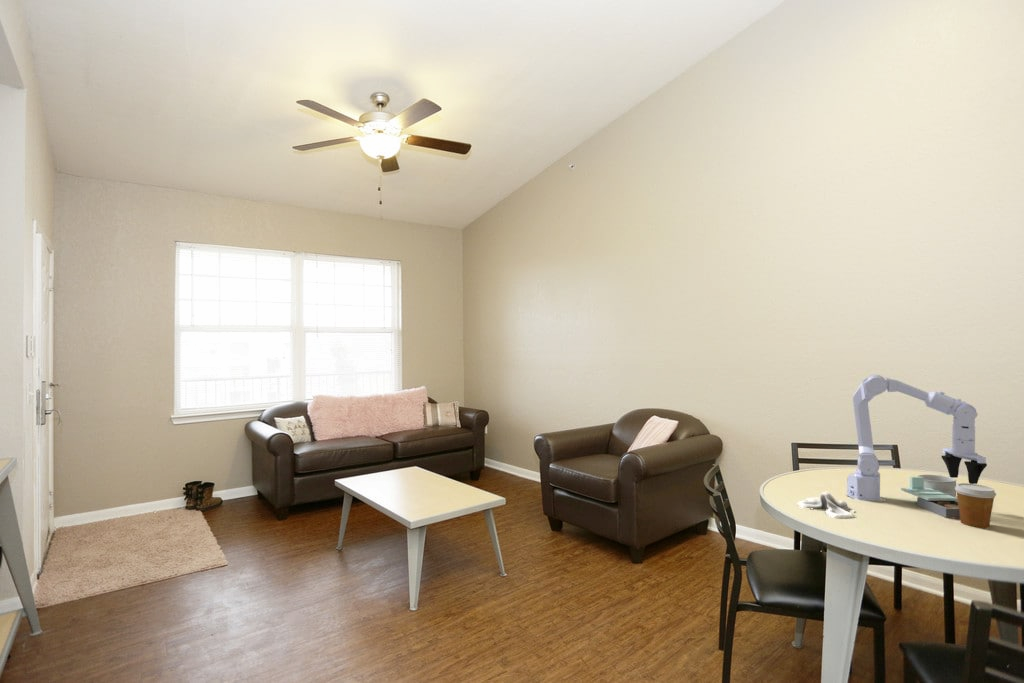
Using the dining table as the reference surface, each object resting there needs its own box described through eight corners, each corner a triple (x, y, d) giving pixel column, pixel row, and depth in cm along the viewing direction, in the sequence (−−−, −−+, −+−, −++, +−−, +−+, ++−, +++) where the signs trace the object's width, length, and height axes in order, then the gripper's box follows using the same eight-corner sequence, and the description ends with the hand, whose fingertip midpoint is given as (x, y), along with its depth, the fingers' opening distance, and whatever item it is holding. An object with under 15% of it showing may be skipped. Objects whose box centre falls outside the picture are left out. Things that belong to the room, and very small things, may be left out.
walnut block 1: (937, 510, 174) (937, 501, 174) (932, 507, 177) (932, 498, 177) (950, 511, 173) (950, 502, 173) (944, 508, 177) (944, 499, 177)
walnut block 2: (954, 516, 168) (954, 508, 168) (944, 513, 171) (944, 504, 171) (964, 516, 168) (964, 507, 168) (953, 512, 172) (953, 504, 172)
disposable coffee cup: (954, 519, 167) (954, 481, 167) (994, 525, 161) (995, 486, 161) (954, 527, 160) (954, 487, 160) (997, 534, 154) (997, 493, 154)
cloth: (851, 524, 164) (851, 504, 164) (787, 509, 177) (787, 491, 177) (871, 509, 178) (871, 491, 178) (811, 497, 192) (811, 480, 192)
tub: (977, 520, 166) (978, 509, 166) (945, 519, 167) (946, 508, 167) (946, 508, 178) (947, 497, 178) (917, 507, 179) (917, 497, 179)
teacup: (949, 506, 181) (949, 482, 181) (911, 497, 190) (912, 475, 190) (964, 499, 188) (964, 477, 188) (928, 492, 198) (928, 470, 198)
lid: (958, 500, 174) (958, 486, 174) (927, 500, 174) (927, 485, 174) (929, 490, 186) (929, 476, 186) (901, 490, 186) (901, 476, 186)
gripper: (995, 443, 167) (995, 486, 167) (957, 435, 182) (957, 474, 182) (973, 443, 167) (972, 486, 167) (936, 435, 182) (936, 474, 182)
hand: (963, 480), depth 174 cm, fingers open, 7 cm apart
